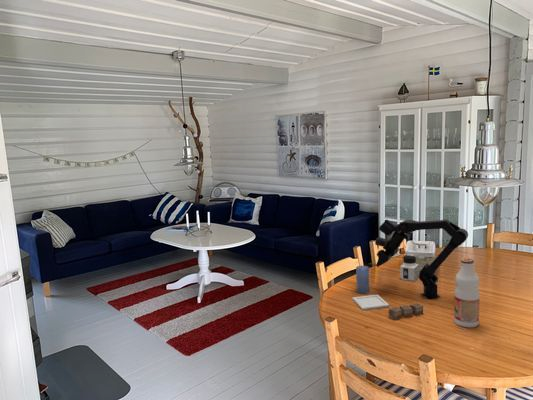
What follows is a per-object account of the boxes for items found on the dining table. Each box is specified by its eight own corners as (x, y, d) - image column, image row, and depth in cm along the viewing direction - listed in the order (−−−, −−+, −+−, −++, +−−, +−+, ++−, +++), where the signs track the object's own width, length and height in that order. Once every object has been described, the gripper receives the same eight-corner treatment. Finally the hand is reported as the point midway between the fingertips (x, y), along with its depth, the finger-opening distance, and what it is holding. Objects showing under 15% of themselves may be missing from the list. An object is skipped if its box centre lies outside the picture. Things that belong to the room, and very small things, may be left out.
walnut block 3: (423, 314, 184) (423, 305, 183) (416, 316, 182) (416, 307, 182) (416, 310, 187) (416, 302, 187) (409, 312, 186) (409, 304, 185)
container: (414, 281, 224) (414, 258, 222) (400, 279, 228) (400, 256, 226) (418, 277, 230) (418, 254, 228) (405, 274, 234) (404, 253, 233)
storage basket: (435, 277, 228) (435, 252, 226) (404, 275, 234) (404, 250, 232) (435, 264, 250) (435, 241, 248) (407, 262, 256) (407, 240, 254)
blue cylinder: (371, 292, 212) (371, 268, 210) (360, 294, 210) (359, 270, 208) (365, 288, 218) (364, 265, 216) (354, 290, 216) (353, 266, 214)
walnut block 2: (412, 316, 182) (412, 308, 181) (404, 318, 181) (404, 309, 180) (407, 313, 186) (407, 304, 185) (399, 314, 185) (399, 305, 184)
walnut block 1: (401, 317, 181) (401, 309, 181) (396, 320, 179) (396, 311, 179) (394, 314, 185) (394, 306, 184) (388, 317, 182) (388, 309, 182)
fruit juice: (470, 330, 166) (471, 264, 162) (449, 322, 174) (450, 259, 170) (483, 323, 171) (484, 259, 167) (462, 316, 179) (463, 254, 175)
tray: (377, 296, 206) (377, 294, 206) (389, 307, 193) (389, 304, 193) (352, 299, 204) (352, 297, 204) (362, 310, 191) (362, 308, 191)
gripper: (387, 228, 219) (373, 250, 226) (376, 236, 204) (360, 259, 210) (405, 240, 215) (390, 262, 221) (395, 249, 199) (378, 272, 206)
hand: (379, 263), depth 215 cm, fingers open, 9 cm apart
